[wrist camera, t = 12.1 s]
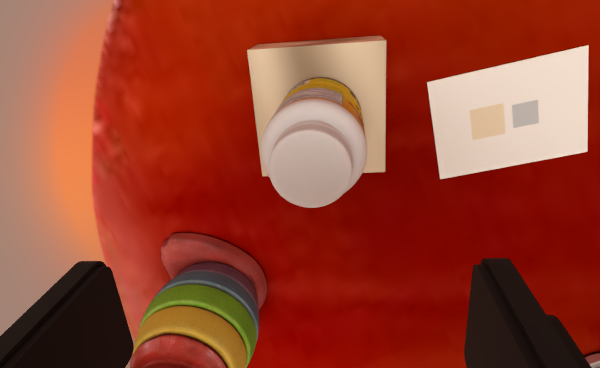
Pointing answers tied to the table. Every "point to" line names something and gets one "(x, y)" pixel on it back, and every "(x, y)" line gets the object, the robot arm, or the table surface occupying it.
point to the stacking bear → (202, 307)
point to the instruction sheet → (511, 113)
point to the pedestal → (324, 63)
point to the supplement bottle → (315, 143)
